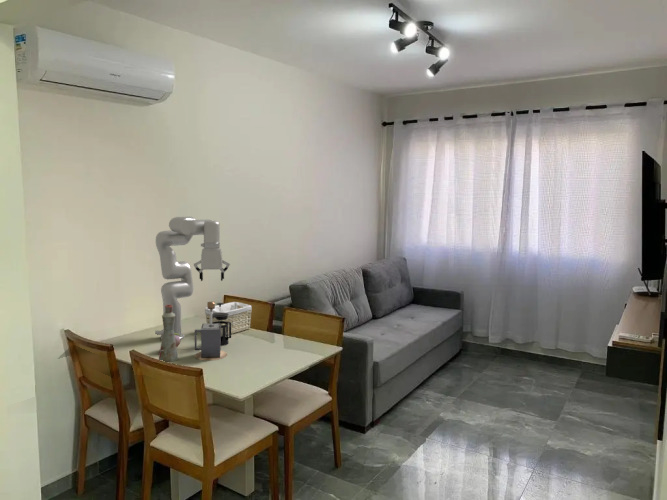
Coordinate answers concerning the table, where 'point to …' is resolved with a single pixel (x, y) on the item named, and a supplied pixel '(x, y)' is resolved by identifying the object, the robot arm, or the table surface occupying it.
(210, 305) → the plunger
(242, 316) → the storage basket
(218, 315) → the french press
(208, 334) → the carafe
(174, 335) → the decorative fruit
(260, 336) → the table surface
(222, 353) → the coaster
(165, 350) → the bottle
